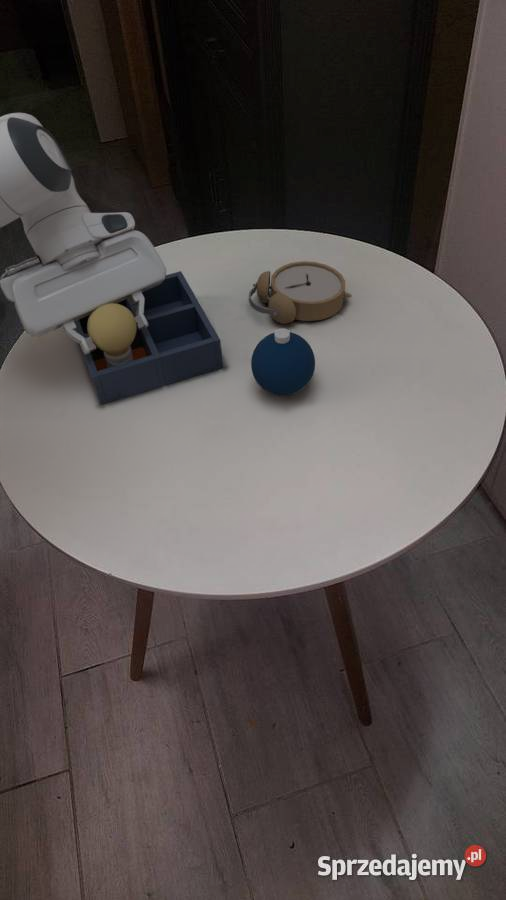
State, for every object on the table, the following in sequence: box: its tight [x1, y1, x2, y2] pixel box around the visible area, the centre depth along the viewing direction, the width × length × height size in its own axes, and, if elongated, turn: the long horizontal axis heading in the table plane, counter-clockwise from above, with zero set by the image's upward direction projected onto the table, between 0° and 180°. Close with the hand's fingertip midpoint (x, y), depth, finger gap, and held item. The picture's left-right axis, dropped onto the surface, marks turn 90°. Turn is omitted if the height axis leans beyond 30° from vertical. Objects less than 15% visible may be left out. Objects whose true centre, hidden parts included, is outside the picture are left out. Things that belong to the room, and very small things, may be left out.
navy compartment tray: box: [74, 270, 224, 405], centre depth 98 cm, size 18×18×5 cm
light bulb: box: [87, 303, 137, 368], centre depth 92 cm, size 6×6×10 cm
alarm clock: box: [248, 260, 353, 325], centre depth 103 cm, size 11×5×15 cm
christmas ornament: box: [250, 327, 316, 397], centre depth 89 cm, size 8×8×10 cm
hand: (117, 340), depth 91 cm, fingers closed on light bulb, 6 cm apart
